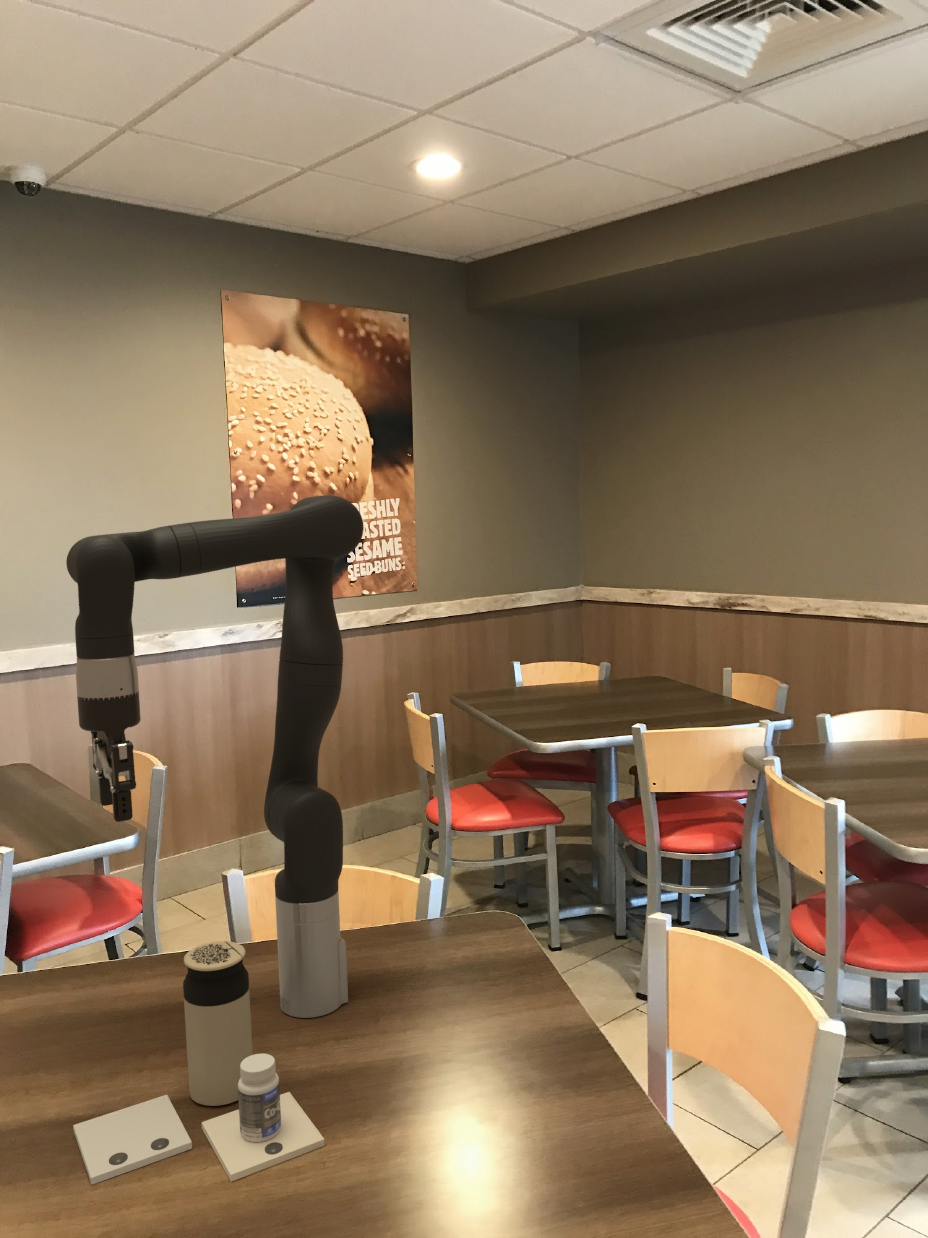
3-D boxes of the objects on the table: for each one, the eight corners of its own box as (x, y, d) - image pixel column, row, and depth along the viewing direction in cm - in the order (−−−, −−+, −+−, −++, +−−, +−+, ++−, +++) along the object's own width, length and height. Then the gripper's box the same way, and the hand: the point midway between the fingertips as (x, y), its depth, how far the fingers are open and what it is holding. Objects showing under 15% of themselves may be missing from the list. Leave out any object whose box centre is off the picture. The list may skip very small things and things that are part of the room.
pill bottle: (272, 1145, 110) (268, 1075, 109) (233, 1141, 110) (229, 1072, 110) (287, 1119, 114) (284, 1052, 113) (250, 1116, 115) (246, 1049, 114)
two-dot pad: (167, 1100, 120) (166, 1093, 120) (192, 1148, 111) (191, 1141, 110) (73, 1131, 114) (73, 1124, 114) (91, 1185, 105) (91, 1177, 105)
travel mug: (197, 1116, 117) (188, 974, 115) (183, 1082, 124) (175, 948, 122) (261, 1096, 120) (254, 959, 118) (245, 1065, 127) (238, 935, 125)
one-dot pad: (289, 1098, 120) (289, 1091, 120) (324, 1145, 111) (324, 1138, 110) (201, 1128, 114) (201, 1121, 114) (231, 1182, 105) (230, 1174, 105)
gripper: (151, 694, 120) (158, 820, 122) (125, 680, 132) (133, 794, 134) (88, 702, 116) (96, 832, 118) (67, 686, 129) (76, 804, 130)
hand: (116, 812), depth 126 cm, fingers open, 8 cm apart
